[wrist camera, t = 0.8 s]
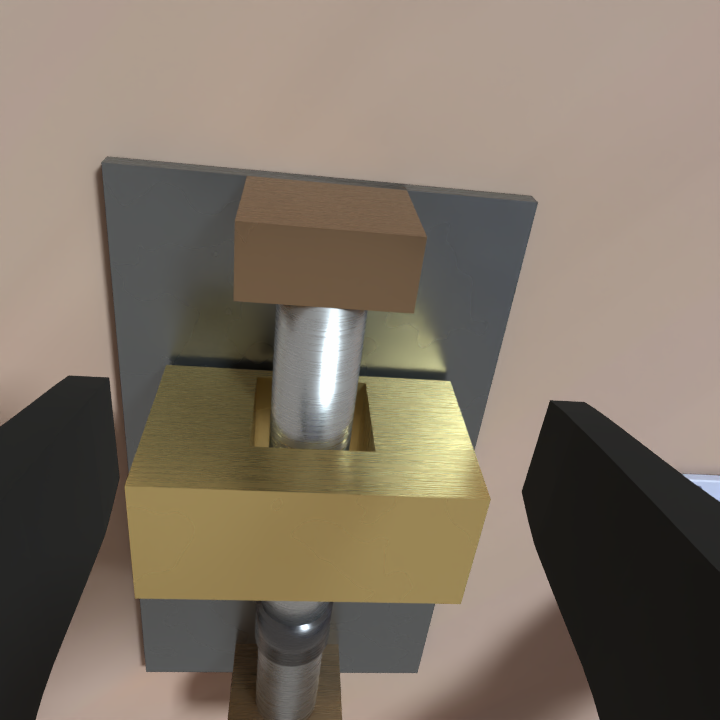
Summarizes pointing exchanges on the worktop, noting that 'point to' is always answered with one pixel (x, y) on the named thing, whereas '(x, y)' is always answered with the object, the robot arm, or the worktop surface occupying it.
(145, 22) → the worktop surface
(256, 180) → the pipe rig
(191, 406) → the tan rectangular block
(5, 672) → the robot arm
